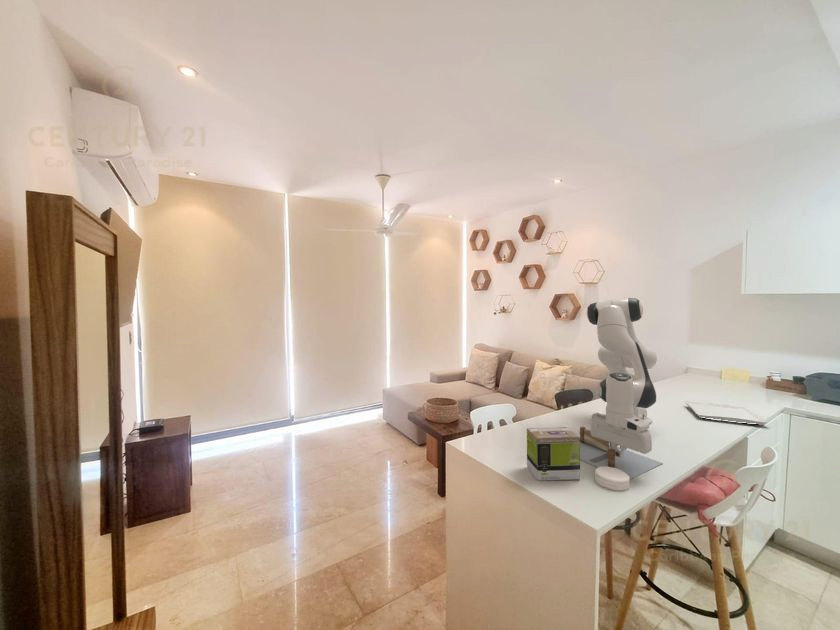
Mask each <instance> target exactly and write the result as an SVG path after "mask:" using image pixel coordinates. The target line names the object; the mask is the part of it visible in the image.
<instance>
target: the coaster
mask: <svg viewBox="0 0 840 630" xmlns="http://www.w3.org/2000/svg"><path fill="white" fill-rule="evenodd" d="M594 480H595V482H596V483H597V484H598V485H600V486H602V487H603V488H605V489H608V490H612V491H617V492H618V491H619V492H622V491H623V492H624V491H627V490H629V488H630V486H631V485H630V484H631V482H630V480H631V479H630V478H629V476H628V475H627V474H626V473H625V472H623V471H621V470H619V469H616V468H613V467H598V468H597V467H595V470H594Z"/></svg>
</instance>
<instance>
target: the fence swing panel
mask: <svg viewBox="0 0 840 630" xmlns="http://www.w3.org/2000/svg"><path fill="white" fill-rule="evenodd" d="M608 467H613V468H615V450H614V449H613V448H612V446H610V449H608Z"/></svg>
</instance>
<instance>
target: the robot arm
mask: <svg viewBox="0 0 840 630" xmlns="http://www.w3.org/2000/svg"><path fill="white" fill-rule="evenodd" d="M643 313H644V307H643V304H642V303H641V302H640V300H639V299H637V298H636V297H634V298H633V297H628V298H617V299H616V298H614V299H609V300H604V301H599V302H597V301H596V302H593V303H590V304H589V305H588V306H587V310H586V317H587V319H588V320H587V321H589V323H590V324H592V325H593V326H594V325H595V326H596V335H597V338H598V339H597V340H598V343H599V344H600V345H601V346H600V347H599V349H598V352H597V357H598V360H599V362H600V363H602V365H604V366H605V367H606V368H607V371H608V372H609V373H610V374H608V376H607V378H605V379H603V380H602V381H600V383H599V398H600V399H601V401H603V402H604V403H606V406H605V414H603V413H599V412H594V413H593V414H592V415H591V424H590V429H589V430H590V433H591V435H592V436H593V437H596V438H599V439H602V440H605V441H608V442H609V444H610V443H611V446H612V448H613V449H614V450H615V456H617V457H620V458H623V453H624V452H625V450H627V449H629V450H632V451H635V452H637V453H641V454H644V455H647V454H649V453H651V452H652V449H653V443H652V435H651V432H650V431H649V428H650V424H652V423H653V422H652V421H653V419H652V418H650V417H648V411H647V409H649V408H651V407H652V406H653V405H654V404H655V403H657V392H656V389H655V386H654V384H653V381H652V380H651V377H650V374H649V370H650V369H652V368H654V367H655V366H656V364H657V361H658V359H657V358H658V357H657V354H656V352H655V351H654V350H653V349H652V348H651V347H648V346H646V345H645V344H644V343H643V342H641V340H640V339H639V338H638V337H637V335H636V333H635V328H634V325H633V322H638V321H639V320H641V319H642V318H643V317H642V316H643ZM627 368H628V369H632V370H633V372H634V375H632V374H630V373H629V372H628V371H627ZM648 369H649V370H648ZM651 422H652V423H651ZM649 423H650V424H649ZM618 447H619V448H620V449H621V451H619V450H618Z"/></svg>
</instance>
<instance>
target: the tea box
mask: <svg viewBox="0 0 840 630" xmlns="http://www.w3.org/2000/svg"><path fill="white" fill-rule="evenodd" d="M526 465H527V466H526V467H527V468H528V470H529V472H531V474H532V476H533V477H534V478H535V479H536V480H537V481H563V480H564V481H566V480H570V481H571V480H572V481H573V480H581V460H580V435H577V434H575V432H573V431H572V430H570V429H569V428H568V427H563V426H562V427H536V428H535V427H534V428H533V427H532V428H531V427H529V428H526Z"/></svg>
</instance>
